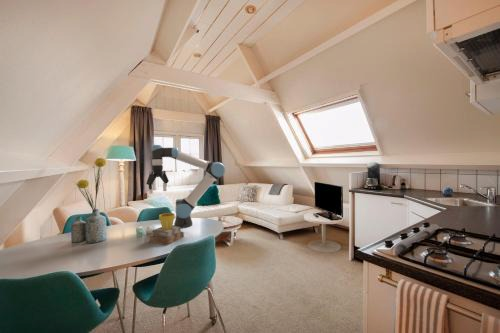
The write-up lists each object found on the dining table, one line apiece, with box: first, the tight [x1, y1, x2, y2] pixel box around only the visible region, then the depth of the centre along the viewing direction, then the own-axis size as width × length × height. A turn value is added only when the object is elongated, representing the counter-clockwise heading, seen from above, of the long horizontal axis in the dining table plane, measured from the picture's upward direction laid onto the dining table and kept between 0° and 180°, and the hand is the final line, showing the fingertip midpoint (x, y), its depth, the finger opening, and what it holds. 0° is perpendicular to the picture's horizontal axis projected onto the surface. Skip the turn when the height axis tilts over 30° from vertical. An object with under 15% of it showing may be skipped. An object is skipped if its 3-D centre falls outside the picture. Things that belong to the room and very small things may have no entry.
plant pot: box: [158, 212, 176, 230], centre depth 157 cm, size 10×10×10 cm
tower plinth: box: [149, 225, 185, 246], centre depth 157 cm, size 16×16×8 cm
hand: (158, 192), depth 172 cm, fingers open, 13 cm apart
